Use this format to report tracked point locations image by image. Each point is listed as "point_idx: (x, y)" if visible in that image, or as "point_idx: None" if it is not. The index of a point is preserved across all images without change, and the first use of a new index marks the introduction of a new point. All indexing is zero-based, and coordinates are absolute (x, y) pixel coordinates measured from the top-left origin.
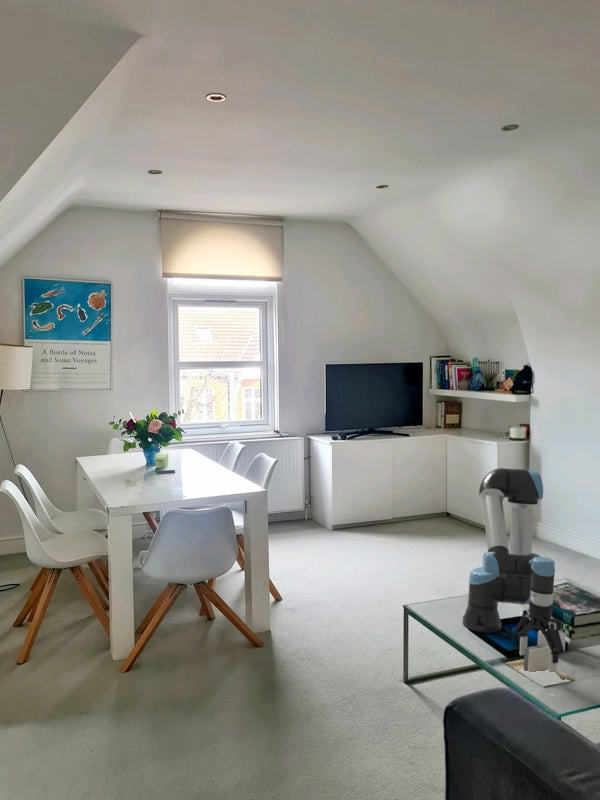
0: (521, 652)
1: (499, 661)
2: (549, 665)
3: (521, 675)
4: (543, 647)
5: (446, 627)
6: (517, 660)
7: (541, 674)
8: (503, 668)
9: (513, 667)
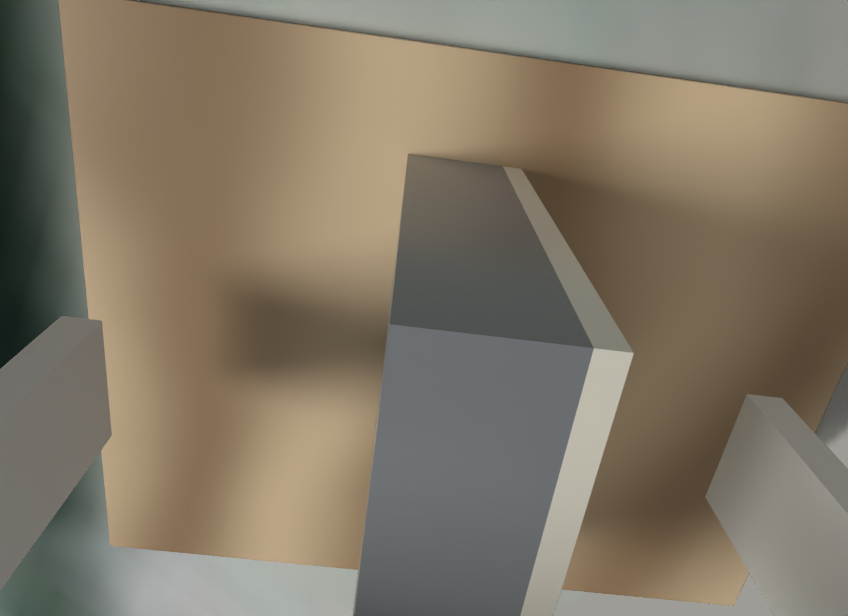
0: (86, 460)
1: None
2: (763, 579)
3: None
4: (523, 591)
5: None
6: None
7: None
8: (201, 609)
9: (249, 553)
